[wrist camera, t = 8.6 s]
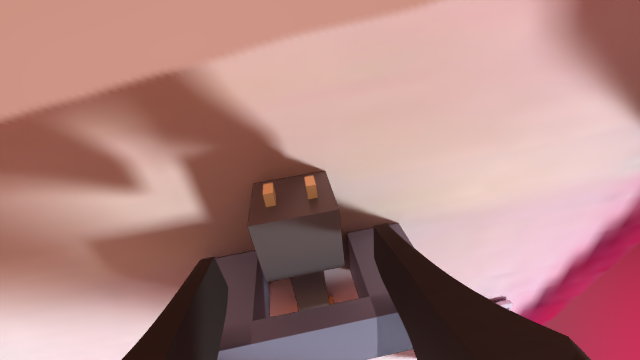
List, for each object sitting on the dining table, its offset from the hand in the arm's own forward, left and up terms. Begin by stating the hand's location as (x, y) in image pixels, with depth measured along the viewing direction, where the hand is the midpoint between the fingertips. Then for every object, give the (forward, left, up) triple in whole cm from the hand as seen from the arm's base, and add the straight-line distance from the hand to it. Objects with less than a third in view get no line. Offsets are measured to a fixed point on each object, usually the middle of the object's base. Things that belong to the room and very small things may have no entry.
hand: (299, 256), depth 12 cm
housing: (-6, 0, -5) cm, 8 cm away
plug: (-6, 0, -5) cm, 8 cm away
